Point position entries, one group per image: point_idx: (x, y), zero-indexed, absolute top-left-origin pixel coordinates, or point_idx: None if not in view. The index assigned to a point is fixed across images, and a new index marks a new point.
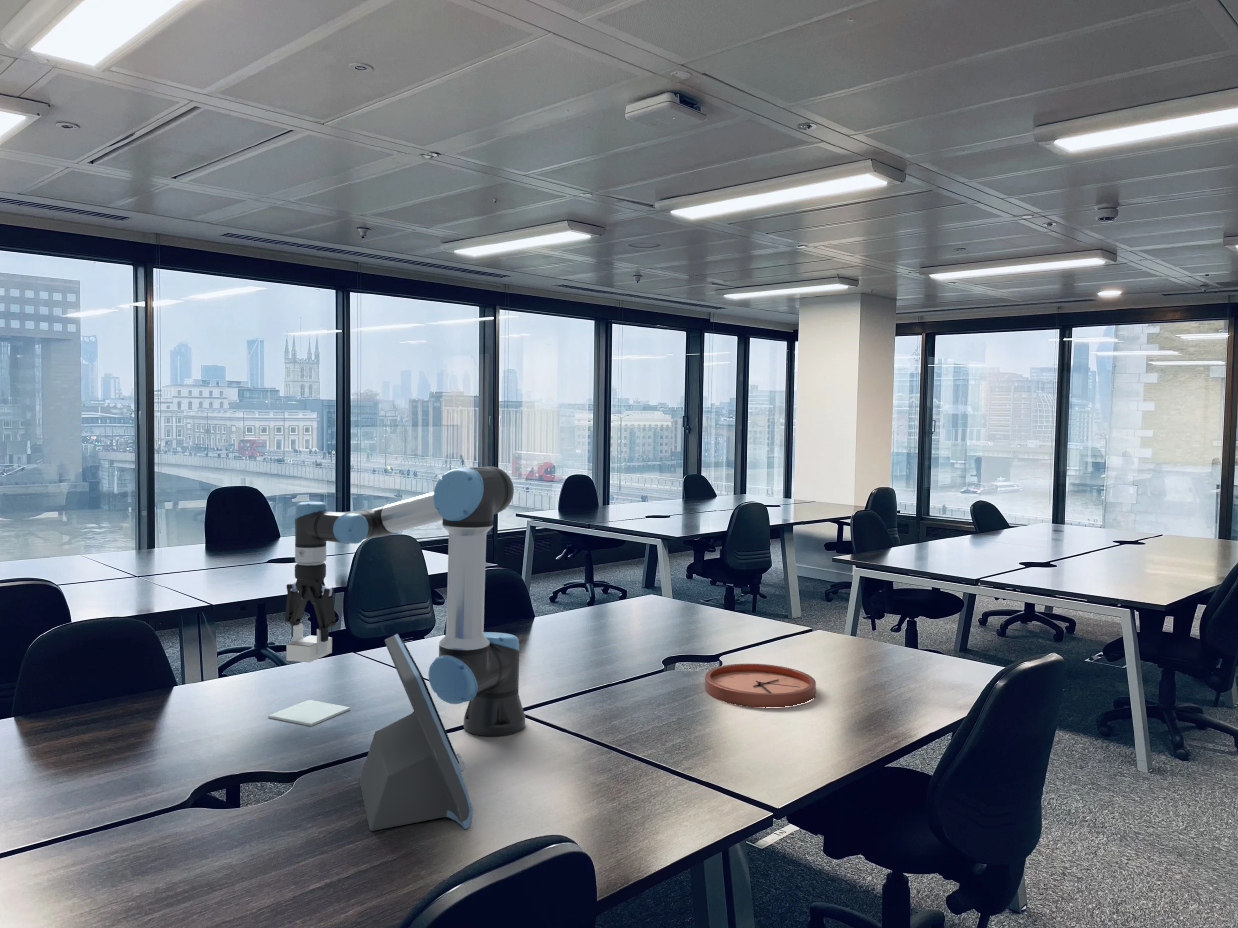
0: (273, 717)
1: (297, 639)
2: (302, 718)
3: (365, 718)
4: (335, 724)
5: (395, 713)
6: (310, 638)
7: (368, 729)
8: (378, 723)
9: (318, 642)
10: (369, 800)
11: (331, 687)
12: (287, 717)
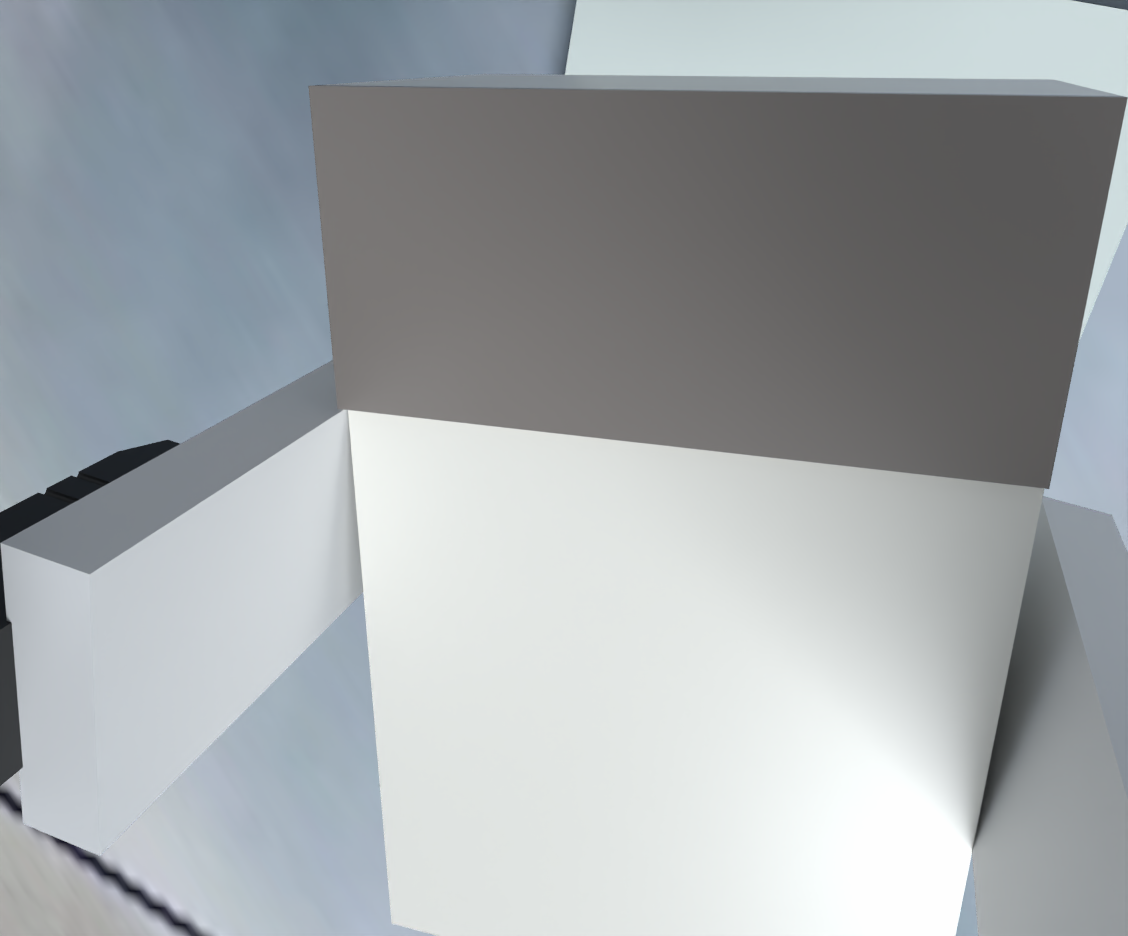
0: (1122, 11)
1: (1042, 695)
2: (760, 38)
3: (287, 250)
4: (418, 36)
5: (166, 406)
6: (764, 827)
7: (117, 3)
8: (137, 163)
9: (274, 401)
10: None
11: (963, 927)
12: (935, 17)
